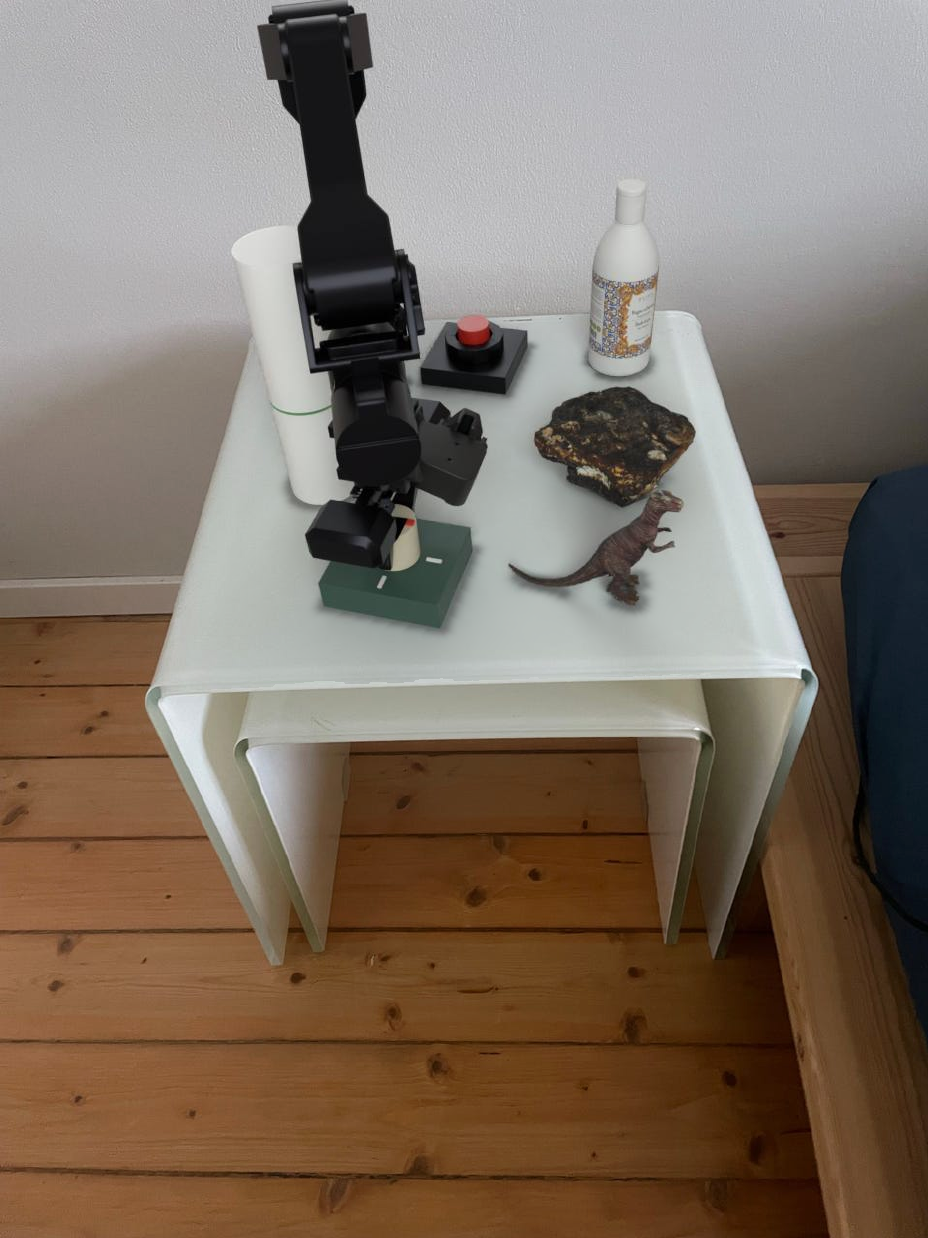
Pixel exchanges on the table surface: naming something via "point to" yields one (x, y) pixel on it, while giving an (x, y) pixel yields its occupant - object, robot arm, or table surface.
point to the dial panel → (404, 579)
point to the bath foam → (624, 287)
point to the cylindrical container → (289, 362)
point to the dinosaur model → (621, 551)
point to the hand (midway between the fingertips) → (395, 550)
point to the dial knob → (406, 541)
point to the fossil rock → (615, 442)
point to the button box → (475, 360)
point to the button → (473, 330)
